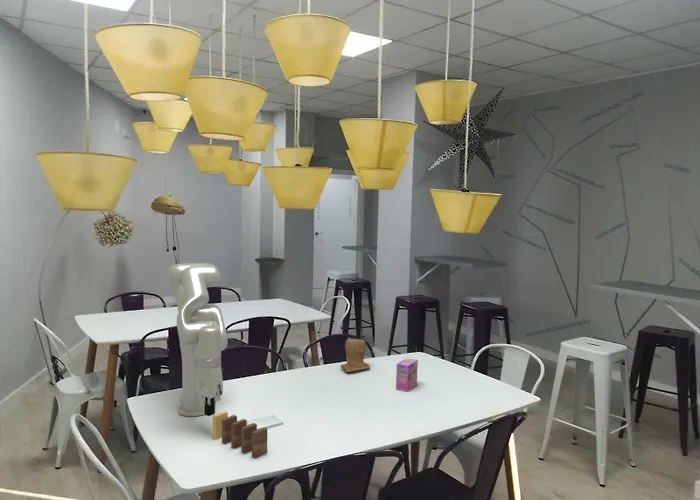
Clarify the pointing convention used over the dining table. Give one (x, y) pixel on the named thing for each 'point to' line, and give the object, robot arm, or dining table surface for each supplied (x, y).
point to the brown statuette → (355, 355)
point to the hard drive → (266, 422)
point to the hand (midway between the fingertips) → (209, 414)
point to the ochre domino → (218, 424)
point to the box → (406, 374)
